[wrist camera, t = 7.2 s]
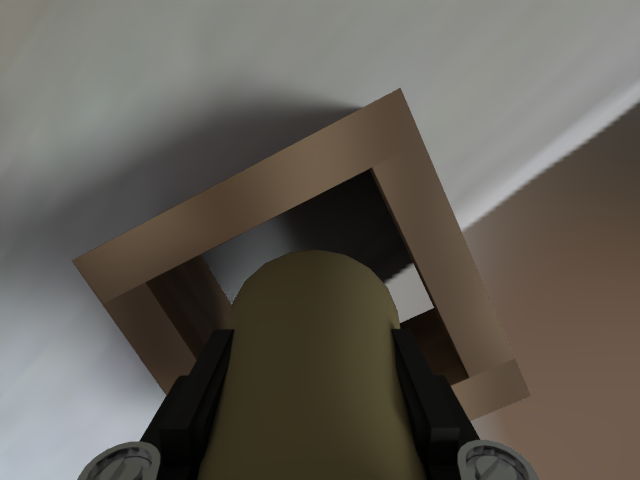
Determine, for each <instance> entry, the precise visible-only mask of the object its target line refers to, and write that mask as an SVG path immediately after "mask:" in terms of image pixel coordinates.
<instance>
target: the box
mask: <svg viewBox="0 0 640 480" xmlns="http://www.w3.org/2000/svg"><path fill="white" fill-rule="evenodd" d="M368 169H370V171H371V173H372V175H373V177H374V180H375V182H376V184H377V186H378V188H379V190H380V192H381V195H382V197H383V199H384V201H385V203H386V205H387V207H388V210H389V212H390V214H391V216H392V218H393V220H394V222H395V225H396V227H397V229H398V231H399V233H400V235H401V238H402V240H403V242H404V244H405V246H406V248H407V250H408V253H409V255H410V257H411V259H412V261H413V263H414V265H415V268H416V270H417V272H418V274H419V276H420V278H421V280H422V282H423V285H424V287H425V289H426V291H427V293H428V295H429V297H430V300H431V302H432V304H433V306H434V308H433V309H431V310H428V311H427V312H424V313H422V314H420V315H417V316H415V317H413V318H411V319H409V320H407V321H404V322H402V323H400V329H410V330H411V332H412V334H413V336H414V338H415V340H416V342H417V344H418V346H419V348H420V350H421V352H422V354H423V356H424V358H425V359H426V361H427V363H428V365H429V367H430V369H431V371H432V373H433V375H444V376H445V377H446V379H447V380H448V382H449V384H450V386H451V388H452V389H453V391H454V393H455V395H456V397H457V399H458V400H459V402H460V404H461V406H462V408H463V409H464V411H465V413H466V415H467V417H468V418H469V420H470V421H471V420H474V419H476V418H479V417H481V416H483V415H486V414H488V413H491V412H493V411H495V410H498V409H500V408H502V407H505V406H507V405H510V404H512V403H515V402H517V401H519V400H522V399H524V398H527V397H529V396H530V393H529V391H528V388H527V386H526V384H525V381H524V379H523V376H522V374H521V372H520V369H519V367H518V365H517V362H516V360H515V358H514V355H513V353H512V351H511V348H510V346H509V343H508V341H507V339H506V336H505V334H504V331H503V329H502V327H501V324H500V322H499V320H498V318H497V315H496V313H495V310H494V308H493V306H492V303H491V301H490V298H489V296H488V294H487V291H486V289H485V287H484V284H483V282H482V279H481V277H480V275H479V272H478V270H477V268H476V265H475V263H474V261H473V258H472V256H471V253H470V251H469V249H468V246H467V244H466V242H465V239H464V237H463V235H462V232H461V230H460V227H459V225H458V223H457V220H456V218H455V216H454V213H453V211H452V209H451V206H450V204H449V201H448V199H447V197H446V194H445V192H444V190H443V187H442V185H441V183H440V180H439V178H438V175H437V173H436V171H435V168H434V166H433V164H432V161H431V159H430V157H429V154H428V152H427V149H426V147H425V145H424V142H423V140H422V138H421V135H420V133H419V131H418V128H417V126H416V123H415V121H414V119H413V116H412V114H411V112H410V109H409V107H408V105H407V102H406V100H405V97H404V95H403V93H402V90H401V88H399V89H397V90H395V91H393V92H392V93H390V94H388V95H386V96H384V97H382V98H380V99H378V100H376V101H374V102H373V103H371V104H369V105H367V106H365V107H363V108H361V109H359V110H357V111H355V112H354V113H352V114H350V115H348V116H346V117H344V118H342V119H340V120H338V121H336V122H335V123H333V124H331V125H329V126H327V127H325V128H323V129H321V130H319V131H317V132H316V133H314V134H312V135H310V136H308V137H306V138H304V139H302V140H300V141H298V142H297V143H295V144H293V145H291V146H289V147H287V148H285V149H283V150H281V151H279V152H278V153H276V154H274V155H272V156H270V157H268V158H266V159H264V160H262V161H260V162H259V163H257V164H255V165H253V166H251V167H249V168H247V169H245V170H243V171H241V172H239V173H238V174H236V175H234V176H232V177H230V178H228V179H226V180H224V181H222V182H220V183H219V184H217V185H215V186H213V187H211V188H209V189H207V190H205V191H203V192H201V193H200V194H198V195H196V196H194V197H192V198H190V199H188V200H186V201H184V202H182V203H181V204H179V205H177V206H175V207H173V208H171V209H169V210H167V211H165V212H163V213H162V214H160V215H158V216H156V217H154V218H152V219H150V220H148V221H146V222H144V223H143V224H141V225H139V226H137V227H135V228H133V229H131V230H129V231H127V232H125V233H124V234H122V235H120V236H118V237H116V238H114V239H112V240H110V241H108V242H106V243H105V244H103V245H101V246H99V247H97V248H95V249H93V250H91V251H89V252H87V253H86V254H84V255H82V256H80V257H78V258H76V259H74V260H72V262H73V263H74V265H75V266H76V267H77V269H78V270H79V272H80V273H81V275H82V276H83V277H84V279H85V280H86V282H87V283H88V285H89V286H90V287H91V289H92V290H93V292H94V293H95V294H96V296H97V297H98V299H99V300H100V302H101V303H102V304H103V306H104V307H105V309H106V310H107V312H108V313H109V314H110V316H111V317H112V319H113V320H114V322H115V323H116V324H117V326H118V327H119V329H120V330H121V331H122V333H123V334H124V336H125V337H126V339H127V340H128V341H129V343H130V344H131V346H132V347H133V349H134V350H135V351H136V353H137V354H138V356H139V357H140V359H141V360H142V361H143V363H144V364H145V366H146V367H147V368H148V370H149V371H150V373H151V374H152V376H153V377H154V378H155V380H156V381H157V383H158V384H159V386H160V387H161V388H162V390H163V391H164V393H165V394H166V396H167V394H168V392H169V391H170V389H171V387H172V386H173V384H174V382H175V381H176V379H177V378H178V377H179V376H181V375H189V373H190V372H191V370H192V368H193V366H194V364H195V363H196V361H197V359H198V357H199V355H200V354H201V352H202V350H203V348H204V346H205V344H206V343H207V341H208V339H209V337H210V335H211V334H212V332H213V330H214V329H228V324H229V319H230V314H231V309H232V305H231V304H230V302H229V300H228V299H227V297H226V295H225V294H224V292H223V290H222V289H221V287H220V285H219V284H218V282H217V281H216V279H215V277H214V276H213V274H212V272H211V271H210V269H209V267H208V266H207V264H206V263H205V261H204V259H203V258H202V256H201V254H202V253H204V252H206V251H208V250H210V249H212V248H214V247H216V246H218V245H220V244H222V243H224V242H226V241H228V240H230V239H232V238H234V237H236V236H237V235H239V234H241V233H243V232H245V231H247V230H249V229H251V228H253V227H255V226H257V225H259V224H261V223H263V222H265V221H267V220H269V219H271V218H273V217H275V216H277V215H279V214H281V213H283V212H285V211H287V210H289V209H291V208H293V207H295V206H297V205H299V204H301V203H303V202H305V201H307V200H309V199H311V198H313V197H315V196H317V195H318V194H320V193H322V192H324V191H326V190H328V189H330V188H332V187H334V186H336V185H338V184H340V183H342V182H344V181H346V180H348V179H350V178H352V177H354V176H356V175H358V174H360V173H362V172H364V171H366V170H368Z"/></svg>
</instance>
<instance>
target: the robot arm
mask: <svg viewBox="0 0 640 480" xmlns="http://www.w3.org/2000/svg"><path fill="white" fill-rule="evenodd" d="M391 330H392V334H393V338H394V343H395V362H396V369H397V373H398V377H399V380H400V384H401V388H402V392H403V396H404V400H405V403H406V407H407V411H408V416H409V420H410V424H411V429H412V433H413V438H414V442H415V447H416V451H417V453H418V455H419V457H420V459H421V462H422V464H423V466H424V468H425V470H426V476H427V480H539V478H538V476H537V474H536V472H535V470H534V469H533V467H532V466H531V464H530V463H529V462H528V461H527V460H526V459H525V458H524V457H523V456H522V455H521V454H519V453H518V452H516V451H515V450H513V449H512V448H510V447H508V446H505V445H503V444H501V443H498V442H493V441H489V440H480V438H479V436H478V435H477V433H476V431H475V430H474V427H473V426H472V424H471V422H470V420H469V418H468V417H467V415H466V413H465V411H464V409H463V408H462V406H461V404H460V402H459V400H458V399H457V397H456V395H455V393H454V391H453V389H452V388H451V386H450V384H449V382H448V380H447V379H446V377H445V376H444V375H433V373H432V371H431V369H430V367H429V365H428V363H427V361H426V359H425V358H424V356H423V354H422V352H421V350H420V348H419V346H418V344H417V342H416V340H415V338H414V336H413V334H412V332H411V330H410V329H391ZM233 332H234V329H214V330H213V332H212V334H211V335H210V337H209V339H208V341H207V343H206V344H205V346H204V348H203V350H202V352H201V354H200V355H199V357H198V359H197V361H196V363H195V364H194V366H193V368H192V370H191V372H190V373H189V375H181V376H179V377H178V378H177V379H176V381H175V382H174V384H173V386H172V387H171V389H170V391H169V392H168V394H167V396H166V397H165V399H164V401H163V403H162V404H161V406H160V408H159V409H158V411H157V413H156V414H155V416H154V418H153V419H152V421H151V423H150V424H149V426H148V428H147V429H146V431H145V433H144V434H143V436H142V438H141V440H140V441H139V442H128V443H123V444H119V445H117V446H114V447H112V448H110V449H107V450H106V451H104V452H103V453H101V454H99V455H98V456H96V457H95V458H94V459H93V460H92V461H91V462H90V463H89V464H87V465H86V467H85V468H84V469H83V471H82V472H81V474H80V475H79V477H78V479H77V480H197V478H198V473H199V468H200V463H201V461H202V459H203V458H204V455H205V451H206V447H207V444H208V440H209V436H210V432H211V428H212V425H213V421H214V417H215V413H216V410H217V406H218V402H219V398H220V394H221V391H222V387H223V383H224V379H225V376H226V372H227V368H228V364H229V361H230V355H231V347H232V340H233Z"/></svg>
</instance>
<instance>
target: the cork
mask: <svg viewBox="0 0 640 480" xmlns="http://www.w3.org/2000/svg"><path fill="white" fill-rule="evenodd" d="M228 329H234V332H233V340H232V347H231V355H230V361H229V364H228V368H227V372H226V376H225V379H224V383H223V387H222V391H221V394H220V398H219V402H218V406H217V410H216V413H215V417H214V421H213V425H212V428H211V432H210V436H209V440H208V444H207V447H206V451H205V455H204V458H203V459H202V461H201V463H200V468H199V473H198V478H197V480H427V476H426V470H425V468H424V466H423V464H422V462H421V459H420V457H419V455H418V453H417V451H416V447H415V442H414V438H413V433H412V429H411V424H410V420H409V416H408V411H407V407H406V403H405V400H404V396H403V392H402V388H401V384H400V380H399V377H398V373H397V369H396V362H395V343H394V338H393V334H392V330H391V329H400V323H399V318H398V312H397V309H396V306H395V304H394V302H393V300H392V297H391V295H390V292H389V290H388V288H387V287H386V285H385V284H384V283H383V282H382V281H381V280H380V279H379V278H378V277H377V276H376V275H375V273H374V272H373V271H372V270H371V269H370V268H368V267H367V266H365V265H363V264H361V263H359V262H358V261H356V260H354V259H352V258H350V257H349V256H347V255H344V254H339V253H334V252H329V251H324V250H319V249H318V250H308V251H299V252H290V253H288V254H285V255H283V256H281V257H279V258H276V259H274V260H272V261H269V262H267V263H265V264H264V265H263V266H262V267H260V268H259V269H258V270H257V271H256V272H255V273H254V274H253V275H251V276H250V277H249V278H248V279H247V280H246V281H245V282H244V284H243V286H242V288H241V289H240V291H239V293H238V295H237V297H236V298H235V300H234V302H233V304H232V309H231V314H230V319H229V324H228Z"/></svg>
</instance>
